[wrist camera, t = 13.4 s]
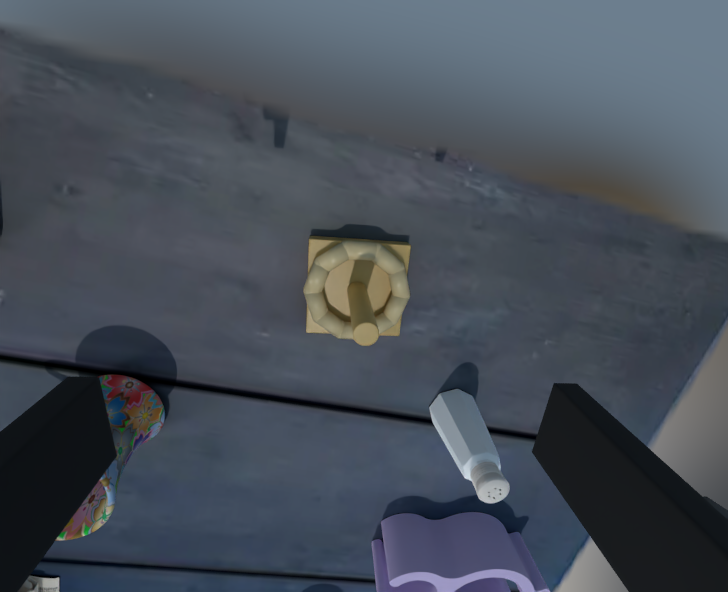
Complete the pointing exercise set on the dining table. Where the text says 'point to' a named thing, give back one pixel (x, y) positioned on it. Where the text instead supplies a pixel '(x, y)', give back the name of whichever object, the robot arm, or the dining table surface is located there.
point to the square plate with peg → (357, 289)
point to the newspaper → (40, 585)
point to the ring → (355, 252)
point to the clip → (452, 555)
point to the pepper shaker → (469, 443)
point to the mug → (118, 446)
